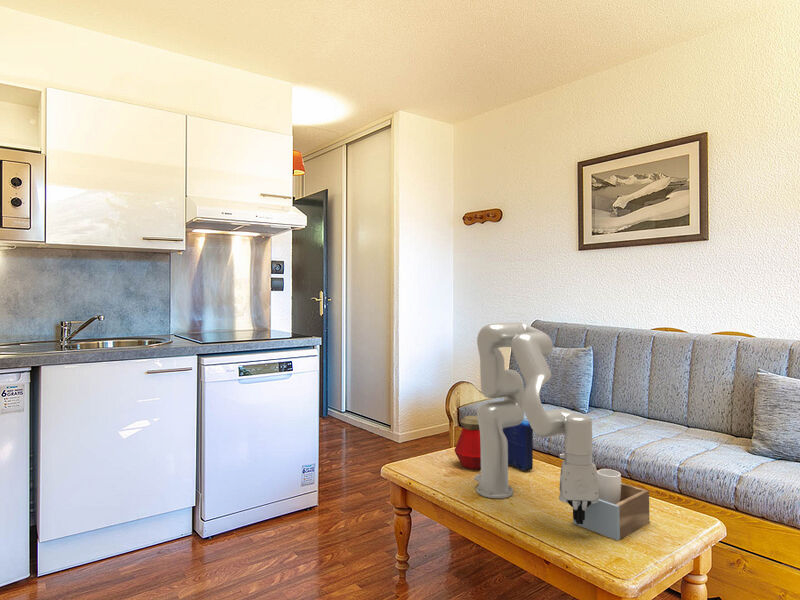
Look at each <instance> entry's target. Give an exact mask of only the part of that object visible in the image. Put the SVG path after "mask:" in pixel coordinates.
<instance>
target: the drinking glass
mask: <svg viewBox="0 0 800 600" xmlns="http://www.w3.org/2000/svg"><path fill="white" fill-rule="evenodd" d="M621 475H622V474H621V472H619V471H617V470H614V469H611V468H601V469H598V470H597V477H598V487H599V499H600V500H603V501H606V502H609V503H612V504H617V503H619V502H620V497H621V483H622V476H621Z"/></svg>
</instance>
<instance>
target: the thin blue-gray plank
mask: <svg viewBox="0 0 800 600" xmlns="http://www.w3.org/2000/svg"><path fill="white" fill-rule="evenodd" d="M598 500H599V502H598V503H594V504H590V505H589V506H588V507H587V508H586V510H585V520H583V524H577V523H576V521H575V520H574V519H573V518H572V523H573V524H574V525H576V526H579V527H581V528H584V529H586V530H589V531H592V532H594V533H596V532H597V534H600V535H602V536H604V537H607V538H609V539H613V540H615V541H617V542H619V541H620V540H621V539H620V510H619V505H616V504H612V503H609V502H606V501H603V500H600V499H598ZM579 505H580V501H577V506H579Z"/></svg>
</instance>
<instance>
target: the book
mask: <svg viewBox="0 0 800 600" xmlns="http://www.w3.org/2000/svg"><path fill="white" fill-rule="evenodd" d="M502 430H503V433H504V434H505V436H506V438H507V442H508V466H510V467H512V468H514V469H517V470H520V471H524V472H527V471H531V470H533V469H534V467H533V465H534V464H533V461H534V460H533V459H534V457H533V456H534V443H533V442H534V439H533V438H534V437H533V436H534V431H533V429H532V428H531V426H530V424H529V421H528V419H523V421H522V423H521V424H519V425H517V426H513V427H507V428H503V429H502Z"/></svg>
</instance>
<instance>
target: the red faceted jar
mask: <svg viewBox="0 0 800 600" xmlns="http://www.w3.org/2000/svg"><path fill="white" fill-rule="evenodd" d="M460 423H461V425H462V429H461V432H460V434H459V437H458V440H457V442H456V445H455V446H454V447H455V448H454V453H455V455H456V457H457V458H458V461H459V463H460V465H461V466H462V467H463V468H465V469H468V470H472V471H479V470H480V471H481V447H480V429H479V424H478V419H477V415H466V416H464V417H463V418H462V419H461V420H460Z"/></svg>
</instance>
